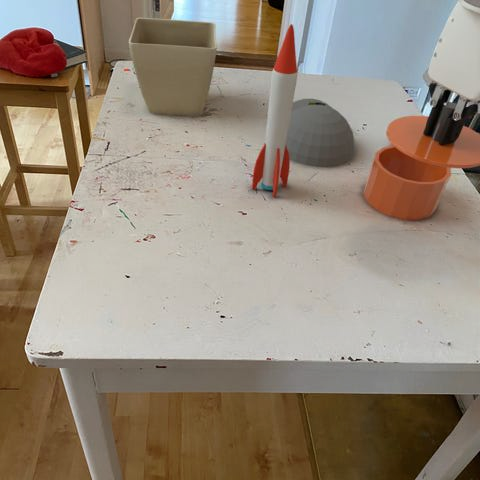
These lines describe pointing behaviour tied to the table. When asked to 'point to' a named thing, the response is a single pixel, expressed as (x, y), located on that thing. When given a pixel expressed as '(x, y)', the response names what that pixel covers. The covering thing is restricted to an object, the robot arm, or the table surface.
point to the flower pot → (173, 64)
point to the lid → (435, 141)
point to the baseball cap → (318, 135)
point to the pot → (404, 185)
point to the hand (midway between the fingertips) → (439, 137)
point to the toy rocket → (278, 120)
